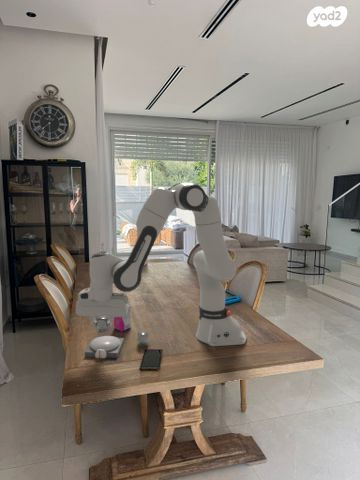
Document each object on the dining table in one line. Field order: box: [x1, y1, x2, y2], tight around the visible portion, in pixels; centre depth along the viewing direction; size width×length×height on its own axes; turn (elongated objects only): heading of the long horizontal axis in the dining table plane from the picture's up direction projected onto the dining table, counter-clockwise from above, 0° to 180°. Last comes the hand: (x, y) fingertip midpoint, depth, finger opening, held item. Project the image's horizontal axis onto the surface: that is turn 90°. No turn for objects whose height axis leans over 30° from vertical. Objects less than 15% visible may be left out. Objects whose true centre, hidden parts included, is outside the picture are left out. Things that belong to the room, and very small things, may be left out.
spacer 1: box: [96, 316, 109, 333], centre depth 130 cm, size 4×4×5 cm
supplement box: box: [113, 304, 132, 333], centre depth 154 cm, size 6×6×12 cm
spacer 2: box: [137, 330, 149, 348], centre depth 140 cm, size 4×4×5 cm
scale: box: [84, 335, 125, 359], centre depth 135 cm, size 13×14×4 cm
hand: (102, 325), depth 131 cm, fingers closed on spacer 1, 4 cm apart
